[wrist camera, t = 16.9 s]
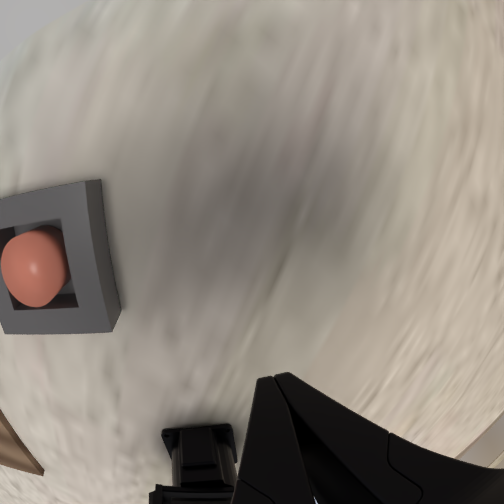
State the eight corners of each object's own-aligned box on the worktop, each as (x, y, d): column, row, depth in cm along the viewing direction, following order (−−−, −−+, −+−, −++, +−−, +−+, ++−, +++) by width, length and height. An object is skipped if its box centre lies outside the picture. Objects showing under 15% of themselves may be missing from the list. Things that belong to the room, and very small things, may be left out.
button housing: (121, 310, 19) (111, 332, 16) (21, 315, 18) (4, 334, 15) (100, 179, 17) (84, 181, 14) (-4, 200, 15) (-27, 206, 12)
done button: (81, 286, 17) (65, 305, 15) (31, 290, 17) (11, 308, 14) (69, 221, 16) (49, 230, 13) (17, 229, 15) (-6, 239, 13)
